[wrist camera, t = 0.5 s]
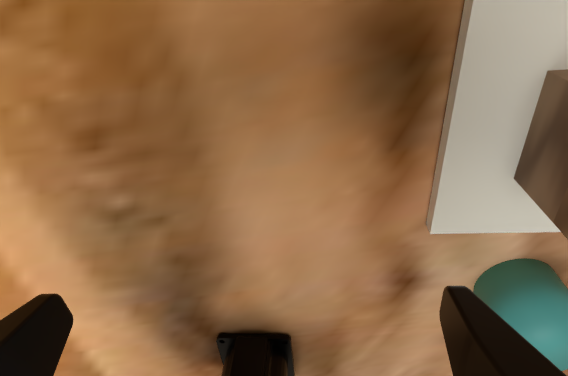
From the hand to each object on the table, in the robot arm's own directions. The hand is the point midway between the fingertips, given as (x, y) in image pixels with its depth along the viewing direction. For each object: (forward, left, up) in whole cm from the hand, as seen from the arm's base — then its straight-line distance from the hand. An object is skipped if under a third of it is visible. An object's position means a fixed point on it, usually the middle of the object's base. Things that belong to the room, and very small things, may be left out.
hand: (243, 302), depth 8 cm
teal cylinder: (-15, -16, -14) cm, 26 cm away
